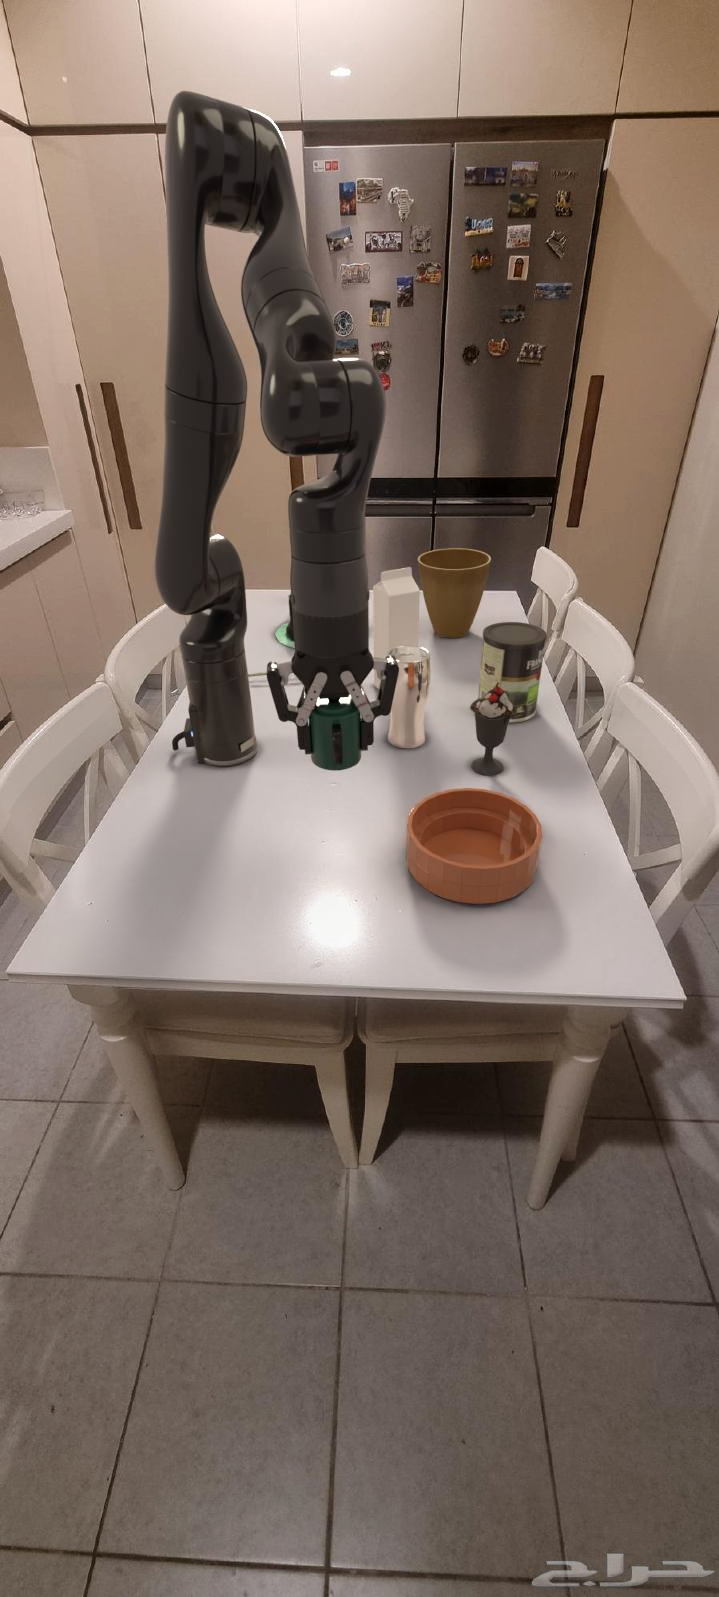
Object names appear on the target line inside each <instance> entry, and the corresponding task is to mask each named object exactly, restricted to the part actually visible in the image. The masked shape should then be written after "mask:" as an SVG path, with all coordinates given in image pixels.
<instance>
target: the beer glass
mask: <svg viewBox="0 0 719 1597" xmlns="http://www.w3.org/2000/svg"><path fill="white" fill-rule="evenodd" d="M388 655H393V656H395V658H396V661H397V663H398V666H399V674H398V679H397V683H396V688H395V693H394V698H393V703H392V707H391V712H390V714H389V718H390V723H389V728H388V729H389V730H388V733H387V741H388V743H389V744H390V745H392V746H394V747H396V748H398V749H414V748H419V747H420V746H422V745H423V744H424V743H425V741H426V735H425V729H424V717H425V711H426V707H427V702H428V698H429V693H430V689H431V652H430V650H428V649H427V648H425V647H423V646H420V645H418V646H413V645H404V646H397V647H394V648H392V649H390V650H389V651H388V652H387V656H388Z"/></svg>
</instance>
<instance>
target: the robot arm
mask: <svg viewBox="0 0 719 1597" xmlns="http://www.w3.org/2000/svg"><path fill="white" fill-rule="evenodd" d="M170 103H171V104H170V106H169V110H168V114H167V120H166V129H165V141H164V183H165V185H164V186H165V213H166V214H165V215H166V216H165V218H166V243H167V244H166V245H167V246H166V247H167V275H168V276H167V277H168V278H167V279H168V281H167V282H168V284H167V285H168V286H167V287H168V290H167V291H168V292H167V293H168V295H167V296H168V297H167V300H168V301H167V302H168V303H167V333H166V353H165V374H164V404H163V405H164V406H163V407H164V410H163V412H164V413H163V414H164V415H163V417H164V445H163V446H164V450H163V467H162V468H163V469H162V470H163V471H162V493H161V494H162V495H161V506H160V515H159V522H158V531H157V540H156V546H155V554H154V578H155V583H156V584H155V585H156V588H157V590H158V593H159V596H160V597H161V599H162V601H163V602H164V604H165V605H166V606H167V607H168V608H169V609H170V610H171V611H172V612H174V613H175V614H178V615H181V616H190V619H189V621H188V622H187V624H186V625H185V626H184V628H183V629H182V631H181V632H180V635H179V638H178V640H179V641H178V642H179V650H180V654H181V660H182V666H183V672H184V678H185V682H186V689H187V695H188V700H189V704H188V708H187V709H188V716H189V717H186V719H185V724H184V727H183V731H181V732H179V733H177V734H176V735H175V736H174V737H173V739H172V741H171V742H172V743H171V745H172V747H171V748H172V750H173V751H178V750H179V749H180V748H179V742H180V741H181V740H182V739H184V742H185V747H186V748H194V750H195V756H196V760H197V763H198V764H207V765H209V766H214V767H230V766H235V765H236V766H237V765H240V764H243V763H245V762H247V761H249V760H250V759H252V758H253V757H254V756H255V755H256V754H257V752H258V743H257V742H258V741H257V736H256V731H255V722H254V714H253V705H252V704H253V703H252V697H251V688H250V687H251V686H250V681H249V677H248V674H249V673H248V672H249V670H248V664H247V663H248V662H247V654H246V648H245V637H246V632H247V630H248V609H247V594H246V580H245V573H244V567H243V563H242V560H241V558H240V555H239V553H238V551H237V549H236V547H235V546H234V545H233V544H232V542H231V541H230V540H229V539H228V538H227V537H225V536H224V535H222V534H220V533H217V532H211V531H212V523H213V519H214V514H215V512H216V508H217V505H218V503H219V500H220V498H221V495H222V494H223V491H224V489H225V486H226V484H227V483H228V480H229V479H230V476H231V474H232V472H233V470H234V467H235V464H236V462H237V460H238V457H239V454H240V452H241V448H242V443H243V440H244V431H245V423H246V422H245V421H246V410H247V399H248V379H247V373H246V370H245V366H244V363H243V361H242V358H241V356H240V353H239V351H238V348H237V345H236V344H235V340H234V339H233V337H232V334H231V332H230V329H229V327H228V325H227V323H226V321H225V319H224V317H223V314H222V312H221V309H220V307H219V304H218V301H217V298H216V296H215V291H214V289H213V285H212V282H211V279H210V278H211V277H210V274H209V268H208V262H207V255H206V254H207V253H206V243H205V242H206V238H205V235H206V234H205V232H206V231H205V226H210V227H215V228H219V229H224V230H229V231H233V232H237V233H243V234H253V235H254V234H255V235H256V236H257V237H258V239H257V240H256V242H255V243H254V245H253V246H252V248H251V250H250V252H249V254H248V256H247V257H246V260H245V262H244V265H243V269H242V272H241V278H240V279H241V280H240V297H241V305H242V308H243V309H242V310H243V312H244V316H245V318H246V322H247V325H248V327H249V330H250V333H251V336H252V339H253V342H254V344H255V347H256V350H257V353H258V359H259V365H260V378H261V379H260V397H259V398H260V399H259V411H260V423H261V428H262V431H263V434H264V436H265V438H266V439H267V441H268V442H269V444H270V445H271V446H272V447H273V448H274V449H275V450H276V451H278V452H279V453H280V454H282V455H284V456H287V457H292V458H299V457H300V458H301V457H302V458H303V457H312V456H324V455H326V456H327V455H336V457H335V460H334V462H333V465H332V466H331V468H330V470H329V471H328V472H327V474H325V475H323V476H322V477H320V478H317V479H316V480H312V481H309V482H307V483H304V484H301V485H299V486H297V487H296V488H294V489H293V490H292V491H291V492H290V494H289V495H288V501H287V518H288V530H289V544H290V570H289V571H290V572H289V574H290V575H289V583H290V584H289V585H290V593H289V595H290V598H291V603H292V615H293V629H294V644H295V648H294V653H293V656H292V657H291V660H289V661H286V662H282V663H277V662H276V661H275V660H274V661H273V660H272V661H269V662H267V665H266V672H267V675H266V679H267V683H268V686H269V690H270V693H271V698H272V700H273V703H274V707H275V711H276V714H277V718H278V720H279V721H280V722H281V723H286V722H290V723H294V725H295V726H296V735H297V736H296V737H297V747H298V748H299V751H303V750H304V755H311V740H310V724H309V716H310V714H311V712H312V710H313V709H314V707H315V705H316V703H317V700H318V698H319V699H327V698H331V697H340V698H348V697H349V695H350V696H351V698H352V700H353V702H354V704H355V706H356V707H357V708H358V710H359V712H360V717H361V752H365V751H368V750H369V746H373V744H374V739H375V736H374V735H375V734H374V730H375V729H374V727H375V726H374V725H375V724H374V722H375V720H376V719H377V718H378V717H380V716H384V717H388V715H389V716H390V712H391V707H392V703H393V698H394V693H395V688H396V683H397V679H398V674H399V666H398V663H397V661H396V658H395V656H393V655H388V656H387V657H386V658H377V657H374V656H373V654H372V653H371V651H370V647H369V646H370V636H369V631H370V629H369V628H370V627H369V625H370V623H369V621H370V619H369V617H370V616H369V615H370V614H369V613H370V612H369V610H370V609H369V606H370V605H369V601H370V598H371V596H370V588H369V571H368V564H367V555H366V507H367V500H368V495H369V490H370V484H371V480H372V475H373V471H374V467H375V464H376V458H377V454H378V452H379V447H380V443H381V439H382V436H383V431H384V427H385V422H386V412H387V399H386V391H385V387H384V384H383V380H382V379H381V376H380V374H379V372H378V371H377V369H376V368H375V367H374V365H373V364H372V363H370V362H369V361H368V360H366V359H363V358H359V357H342V358H341V357H339V358H335V356H336V351H337V346H338V339H337V338H338V337H337V331H336V327H335V323H334V321H333V319H332V315H331V312H330V311H329V310H330V309H328V305H327V303H326V301H325V299H324V296H323V293H322V291H321V288H320V286H319V283H318V282H317V278H316V276H315V274H314V271H313V268H312V265H311V262H310V260H309V259H310V258H309V255H308V251H307V248H306V242H305V237H304V231H303V225H302V221H301V220H302V218H301V212H300V208H299V202H298V198H297V192H296V188H295V183H294V178H293V173H292V168H291V164H290V158H289V155H288V151H287V147H286V145H285V142H284V139H283V135H282V134H281V132H280V130H279V128H278V126H277V125H276V123H274V121H273V120H272V119H271V118H270V117H269V116H266V115H265V114H263V113H261V112H259V111H258V110H257V111H256V110H254V109H251V108H248V107H244V106H241V105H239V104H235V103H232V102H228V101H225V100H221V99H218V98H215V97H211V96H209V95H205V94H201V93H199V92H195V91H192V90H191V91H190V90H181V91H179V92H177V93H176V94H175V95H174V97H173V99H172V101H171V102H170ZM374 669H375V670H376V671H377V676H378V678H379V679H380V680H381V682H380V687H379V689H378V692H377V698H376V699H375V700H373V701H370V699H369V698H368V696H367V694H366V691H365V688H364V687H363V682H364V681H365V680H366V679H367V677H368V676H369V675H370V673H371V672H372V671H373V670H374ZM292 674H293V675H294V676H295V677H296V678H297V680H299V682H300V683H301V684H302V685H303V687H302V689H301V694H300V698H299V699H298V701H297V704H296V705H293V704H290V702H289V699H288V696H287V692H286V687H285V686H286V685H288V683H289V677H290V675H292Z"/></svg>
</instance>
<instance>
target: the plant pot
mask: <svg viewBox="0 0 719 1597" xmlns="http://www.w3.org/2000/svg"><path fill="white" fill-rule="evenodd" d="M491 561H492V557H491V556H490V555H489V554H488V553H486V552H484V551H481V550H477V549H471V548H461V547H460V548H459V547H458V548H457V547H456V548H455V547H454V548H452V547H451V548H440V549H433V550H430V551H426V552H424V553H421V554H420V555H419V556H418V557H417V564H418V572H419V578H420V584H421V591H422V595H423V599H424V603H425V607H426V611H427V615H428V617H429V621H430V624H431V626H432V629H433V631H434V634H435V635H436V636H438V637H441V638H445V639H455V638H462V637H465V636H466V635H468V634H469V631H470V629H471V628H472V625H473V623H474V620H475V618H476V616H477V612H478V611H479V607H480V604H481V602H482V599H483V595H484V591H485V587H486V585H487V584H486V583H487V580H488V576H489V572H490V567H491V566H490V565H491Z"/></svg>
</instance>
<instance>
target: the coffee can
mask: <svg viewBox="0 0 719 1597" xmlns="http://www.w3.org/2000/svg"><path fill="white" fill-rule="evenodd" d="M482 637H483V638H482V648H481V661H480V672H479V685H478V696H477V697H478V698H477V699H480V698H484V697H485V695H486V693H487V692H488V691H490V690H492V689H494V687H495V686H496V684H497V682H499V685H498V687H500V688H502V689H503V690H504V691H505V692H507V693H508V694H509V696H508V700H509V701H510V702H512V703H513V704H514V705H515V706H516V709H517V712H516V714H515V715H512V716H511V717H510V720H509V723H508V724H514V723H516V724H517V723H522V722H526V721H528V720H531V719H532V718H533V717H535V715H536V713H537V704H538V703H537V702H538V695H539V688H540V682H541V674H542V668H543V660H544V655H545V647H546V646H545V645H546V641H547V638H548V634H547V632H546V631H545V629H543V628H541V627H540V626H537V625H534V624H530V623H526V622H519V621H503V622H502V621H501V622H497V623H493V624H490V625H488V626H486V627H484V628H483V630H482ZM495 688H496V687H495Z"/></svg>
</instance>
